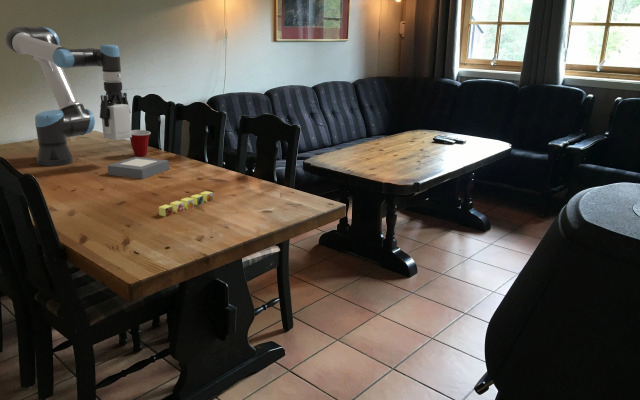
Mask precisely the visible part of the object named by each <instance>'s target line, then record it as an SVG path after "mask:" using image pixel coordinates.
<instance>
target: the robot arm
mask: <svg viewBox="0 0 640 400" xmlns="http://www.w3.org/2000/svg"><path fill="white" fill-rule="evenodd" d="M4 41H5V45H6V46H7V48H8V49H9V50H10V51H11V52H14V53H17V54H18V55H30V56H31V57H32V58H33V60H34V61H36V62H38V64H39V65H40V68H41V69H42V70H41V71H42V72H43V75H44V76H45V79H46V81H47V83H48V85H49V87H50V89H51V92H52V94H53V97H54V98H55V102H56V103H57V105H58V109H51V110H45V111H42V112H38V113H37V114H36V115H35V117H34V121H35V123H34V124H35V125H34V126H35V130H36V134H37V135H36V136H37V141H38V142H37V143H38V151H37V157H36V164H37V165H39V166H42V167H43V166H44V167H45V166H46V167H53V166H55V167H56V166H63V165H68V164H71V163H73V162H74V157H73V154H72V152H71V151H70V148H69V146H68V142H67V141H68V140H67V139H68V138H71V137H76V136H77V137H79V136H84V135H88V134H90V133H92V132H93V130H94V129H95V123H96V119H95V115H94V113H93V112H92V110H90V109H88V108H85V107H84V104H83V103H82V102H79V101H78V99H77V96H76V94H75V92H74V90H73V88H72V86H71V84H70V81H69V78H68V77H67V74H66V73H65V70H64V69H63V68H65V69H70V68H85V67H87V68H88V67H101V68H102V69H101V70H102V80H103V89H104V91H105V95H100V100H101V101H100V105H101V107H100V110H99V119H101V120H102V119H104V126H105V128H106V134H112V128H111V119H109V117H110V109H109V108H108V107H107V106H113V105H114V103H116V104H126V105H129V106H130V104H129V101H128V98H127V97H128V95H127V92H122V91H123V82H122V71H121V70H122V68H121V67H122V66H121V54H120V48H119V46H118V45H117V44H101V45H100V48H94V47H86V48H69V47H64V46H62V45H61V44H60V42H61V41H60V38H59V36H58V34H57V33H56V32H55V31H54V29H52V28H49V27H44V26H37V27H36V26H34V27H33V26H15V27H13V28H10V29H9V30H8V31H7V32H6V34H5V37H4ZM129 109H130V107H129ZM130 110H131V109H130ZM130 114H131V111H130Z"/></svg>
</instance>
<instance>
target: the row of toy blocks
mask: <svg viewBox="0 0 640 400" xmlns="http://www.w3.org/2000/svg"><path fill="white" fill-rule="evenodd" d="M213 200H214V194H213V192H212V191H208V190H204V191H202V192H200V193H199V194H197V193H196V194H192V195H190V196H189V197H184V198H180V200H175V201H172V202H169V204H163V205H160V206H158V215H159V216H162V217H166V218H167V217H169V216H173V215H174V213H181V212H183V211H185V209H186V210H188V209H192V208H194V207H195V206H200V205H203V204H204V202H205V203H208V202H211V201H213Z"/></svg>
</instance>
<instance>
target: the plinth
mask: <svg viewBox="0 0 640 400" xmlns="http://www.w3.org/2000/svg"><path fill="white" fill-rule="evenodd" d="M169 170H170V164H169V160H166V159H158V158H151V157H150V158H149V157H143V156H142V157H137V156H134V157H133V156H132V157H129V158H128V159H123V160H121V161H117V162H114V163H111V164H107V174H108V175H111V176H116V177H117V176H118V177H125V178H133V179H138V180H144V179H147V178H149V177H153V176H155V175H158V174H161V173H163V172H166V171H169Z"/></svg>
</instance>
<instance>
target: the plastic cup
mask: <svg viewBox="0 0 640 400" xmlns="http://www.w3.org/2000/svg"><path fill="white" fill-rule="evenodd" d="M131 133H132V137H131V138H129V139H130V144H131V147H132V152H133V155H134V157H142V158H143V157H147V156H148V155H147V154H148V148H149V139H150V136H151V134H152V133H151V131H148V130H144V129H143V130H141V129H133V130H132V129H131Z"/></svg>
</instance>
